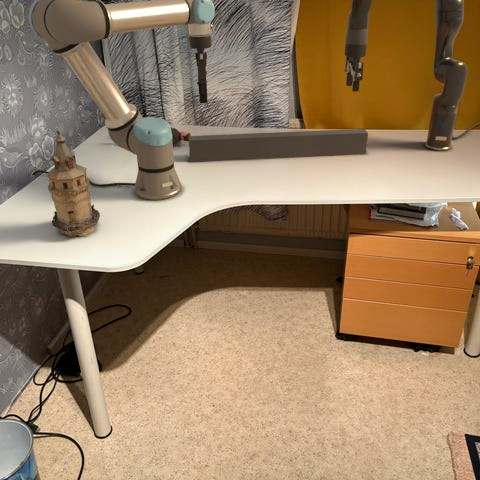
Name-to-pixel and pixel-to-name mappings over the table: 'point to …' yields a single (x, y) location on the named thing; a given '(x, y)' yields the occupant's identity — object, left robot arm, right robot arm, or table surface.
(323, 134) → the post
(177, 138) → the toy
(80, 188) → the miniature building
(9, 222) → the table surface
